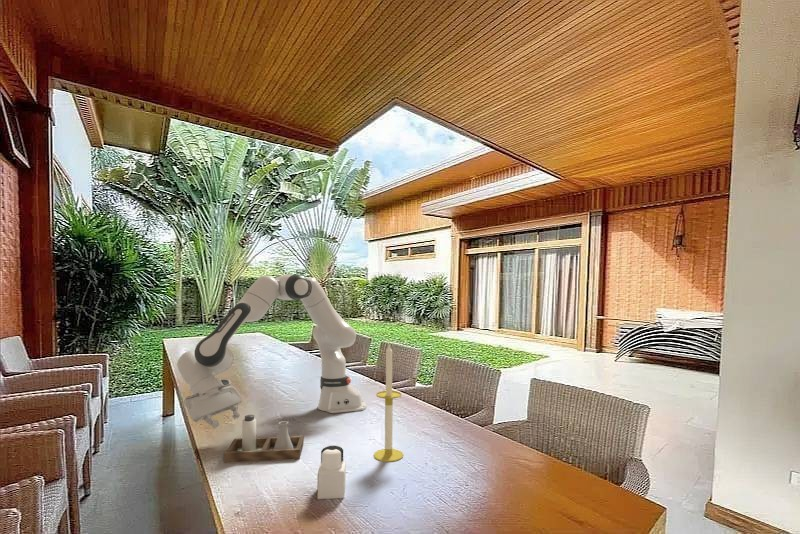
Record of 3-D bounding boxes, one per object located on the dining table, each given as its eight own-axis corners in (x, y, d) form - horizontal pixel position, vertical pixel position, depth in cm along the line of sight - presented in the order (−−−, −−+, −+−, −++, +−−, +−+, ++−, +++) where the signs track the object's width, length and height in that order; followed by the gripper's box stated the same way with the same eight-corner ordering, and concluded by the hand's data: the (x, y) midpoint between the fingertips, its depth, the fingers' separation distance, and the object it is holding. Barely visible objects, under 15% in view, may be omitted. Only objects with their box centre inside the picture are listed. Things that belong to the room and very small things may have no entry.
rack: (303, 444, 146) (303, 435, 146) (299, 459, 134) (299, 449, 134) (234, 447, 143) (234, 438, 143) (224, 462, 131) (224, 453, 131)
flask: (287, 457, 135) (288, 427, 135) (267, 455, 136) (268, 425, 137) (297, 449, 142) (297, 419, 142) (278, 447, 143) (278, 418, 144)
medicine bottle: (320, 486, 116) (320, 443, 116) (345, 485, 117) (345, 442, 117) (317, 499, 109) (317, 454, 109) (344, 498, 109) (344, 453, 110)
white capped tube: (256, 449, 141) (256, 413, 141) (255, 454, 136) (256, 417, 137) (242, 450, 139) (243, 414, 140) (241, 456, 135) (241, 418, 136)
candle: (380, 464, 130) (381, 346, 132) (369, 452, 139) (370, 341, 141) (408, 458, 134) (409, 344, 136) (395, 447, 144) (396, 340, 145)
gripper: (186, 392, 136) (208, 426, 132) (233, 378, 155) (252, 408, 151) (176, 404, 138) (197, 438, 134) (223, 389, 157) (243, 418, 153)
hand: (227, 422), depth 143 cm, fingers open, 8 cm apart
